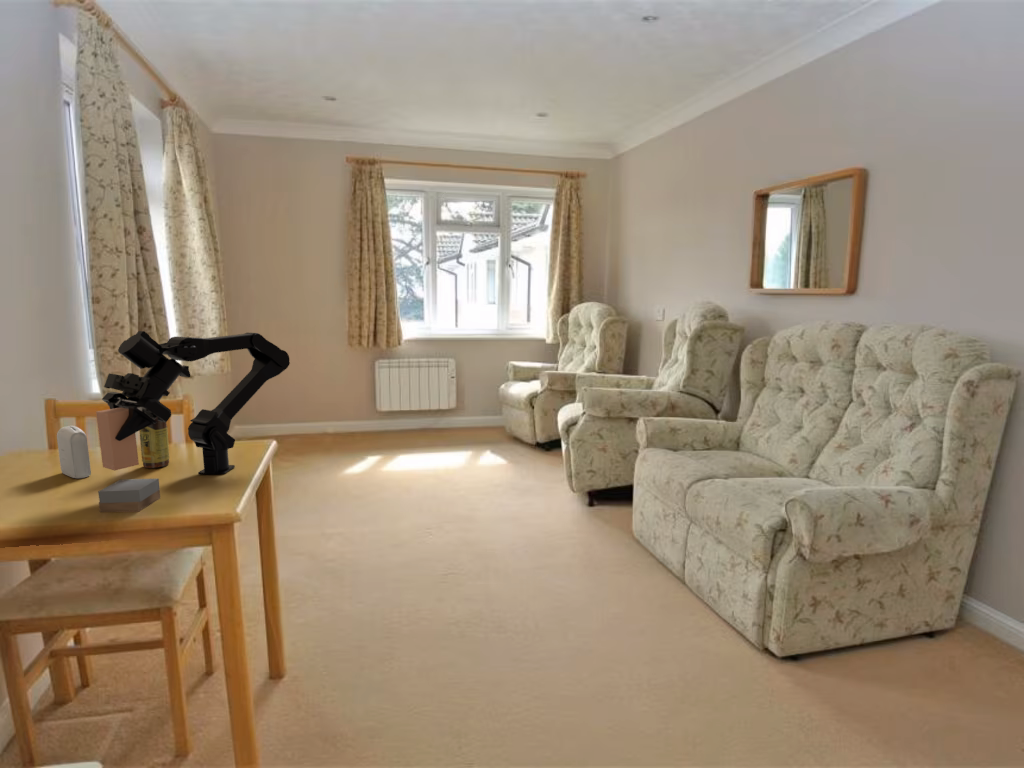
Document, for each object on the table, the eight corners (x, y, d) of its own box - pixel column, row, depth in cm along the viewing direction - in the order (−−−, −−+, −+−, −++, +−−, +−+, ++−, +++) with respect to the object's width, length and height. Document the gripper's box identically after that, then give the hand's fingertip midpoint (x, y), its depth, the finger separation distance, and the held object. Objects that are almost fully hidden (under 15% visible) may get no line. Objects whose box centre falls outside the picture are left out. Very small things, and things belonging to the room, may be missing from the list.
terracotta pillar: (127, 461, 135) (120, 407, 133) (138, 464, 132) (132, 409, 130) (103, 467, 131) (96, 411, 129) (114, 470, 128) (107, 413, 126)
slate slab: (121, 490, 130) (120, 479, 130) (159, 489, 131) (158, 478, 131) (99, 503, 123) (98, 491, 122) (140, 501, 123) (139, 490, 123)
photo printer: (58, 473, 150) (52, 425, 148) (78, 469, 153) (73, 422, 152) (73, 480, 144) (67, 430, 142) (94, 476, 147) (88, 427, 146)
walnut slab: (123, 500, 131) (122, 490, 131) (160, 500, 131) (159, 489, 131) (100, 514, 123) (98, 502, 123) (139, 513, 123) (138, 502, 123)
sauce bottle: (140, 465, 156) (132, 391, 153) (166, 461, 160) (159, 388, 157) (146, 471, 151) (138, 394, 148) (173, 466, 156) (166, 391, 153)
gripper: (106, 357, 136) (57, 413, 128) (151, 361, 126) (100, 422, 119) (146, 386, 144) (101, 440, 136) (190, 392, 134) (145, 451, 127)
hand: (110, 438), depth 129 cm, fingers closed on terracotta pillar, 5 cm apart
